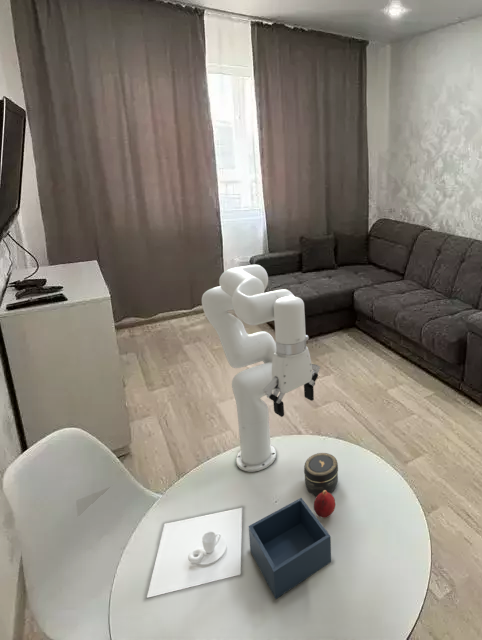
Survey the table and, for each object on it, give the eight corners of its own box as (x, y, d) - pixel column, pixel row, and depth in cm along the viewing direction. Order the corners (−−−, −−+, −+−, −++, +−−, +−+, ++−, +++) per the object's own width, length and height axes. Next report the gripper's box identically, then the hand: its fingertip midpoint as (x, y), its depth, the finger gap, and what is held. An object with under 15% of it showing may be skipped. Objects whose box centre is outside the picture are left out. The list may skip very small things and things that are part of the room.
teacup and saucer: (187, 570, 98) (185, 556, 97) (191, 541, 105) (190, 528, 104) (226, 561, 100) (224, 547, 99) (227, 533, 107) (226, 520, 107)
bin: (250, 551, 103) (248, 526, 101) (302, 521, 111) (301, 497, 110) (275, 599, 91) (273, 571, 90) (331, 561, 100) (330, 535, 98)
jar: (323, 468, 130) (323, 447, 129) (345, 485, 124) (344, 463, 122) (298, 485, 123) (297, 463, 122) (319, 504, 117) (318, 481, 115)
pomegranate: (332, 526, 110) (331, 501, 108) (311, 523, 111) (310, 498, 109) (337, 509, 115) (337, 484, 113) (318, 505, 116) (317, 481, 114)
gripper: (308, 331, 113) (311, 388, 117) (253, 352, 101) (258, 415, 104) (326, 338, 108) (328, 398, 112) (271, 361, 96) (275, 427, 99)
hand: (294, 406), depth 108 cm, fingers open, 9 cm apart
